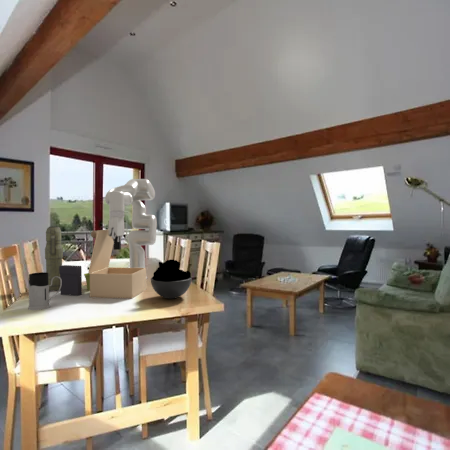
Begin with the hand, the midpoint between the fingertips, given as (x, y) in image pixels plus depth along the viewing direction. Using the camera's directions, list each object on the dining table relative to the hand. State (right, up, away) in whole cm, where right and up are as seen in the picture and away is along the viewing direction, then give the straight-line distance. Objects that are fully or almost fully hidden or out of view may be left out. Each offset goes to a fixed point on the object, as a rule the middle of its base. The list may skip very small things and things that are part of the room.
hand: (117, 249), depth 168 cm
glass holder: (-24, -24, -25) cm, 42 cm away
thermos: (-38, -23, +10) cm, 46 cm away
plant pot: (-17, -23, +10) cm, 31 cm away
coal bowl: (+30, -24, -10) cm, 40 cm away
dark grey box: (-23, -24, -2) cm, 33 cm away
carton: (+1, -23, +1) cm, 23 cm away
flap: (-7, 0, +1) cm, 7 cm away
